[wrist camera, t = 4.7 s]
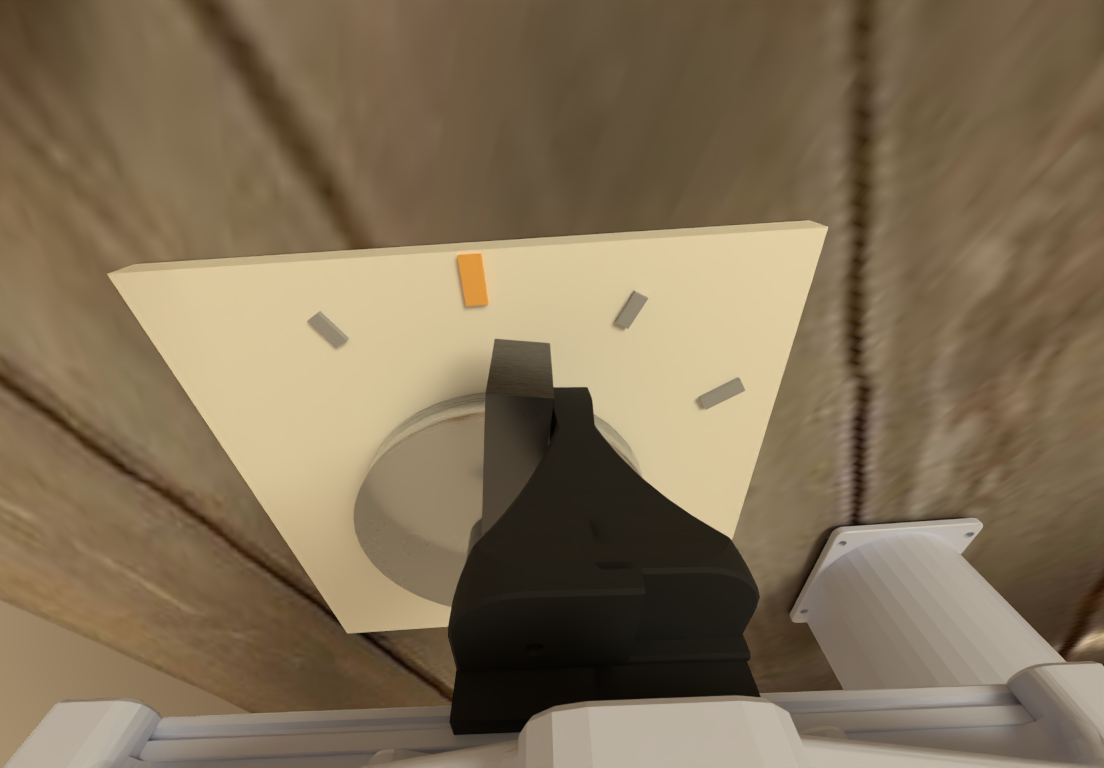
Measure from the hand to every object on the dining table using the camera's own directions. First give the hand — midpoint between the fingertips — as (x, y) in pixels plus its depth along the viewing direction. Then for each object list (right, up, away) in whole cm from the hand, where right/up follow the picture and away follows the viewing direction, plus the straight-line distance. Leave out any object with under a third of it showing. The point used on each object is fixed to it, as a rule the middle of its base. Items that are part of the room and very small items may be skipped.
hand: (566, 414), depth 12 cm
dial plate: (-2, -4, +7) cm, 8 cm away
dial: (-2, -3, +5) cm, 6 cm away
